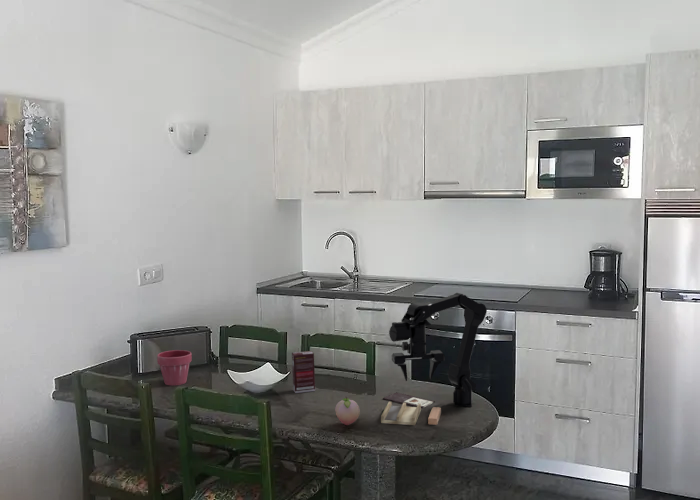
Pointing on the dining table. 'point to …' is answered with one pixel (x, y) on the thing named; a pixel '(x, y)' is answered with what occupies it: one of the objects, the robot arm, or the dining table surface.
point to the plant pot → (174, 366)
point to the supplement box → (303, 371)
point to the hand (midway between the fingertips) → (418, 379)
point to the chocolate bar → (408, 400)
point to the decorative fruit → (347, 411)
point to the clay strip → (434, 415)
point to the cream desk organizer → (400, 414)
